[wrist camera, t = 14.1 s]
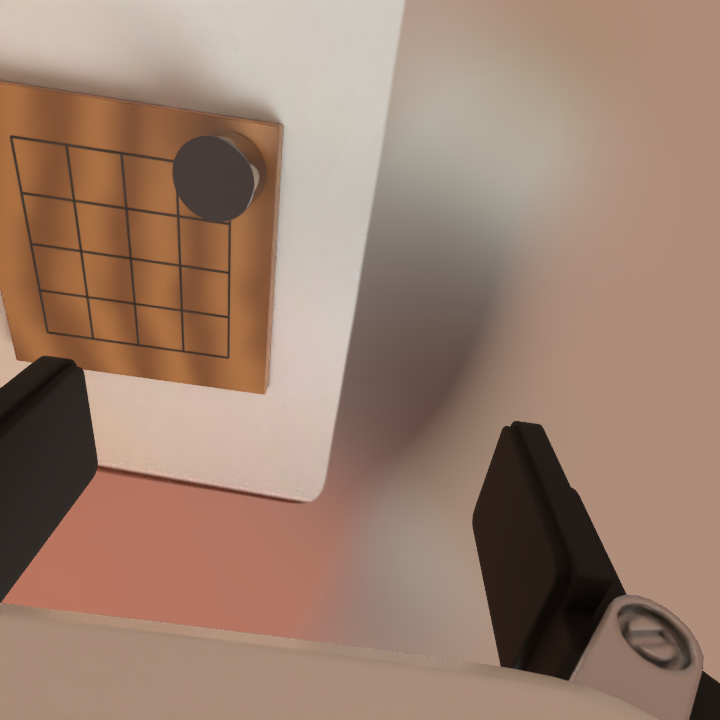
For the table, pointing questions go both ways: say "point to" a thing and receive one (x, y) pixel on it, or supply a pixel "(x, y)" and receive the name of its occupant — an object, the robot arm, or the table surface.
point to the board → (131, 242)
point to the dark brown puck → (219, 175)
